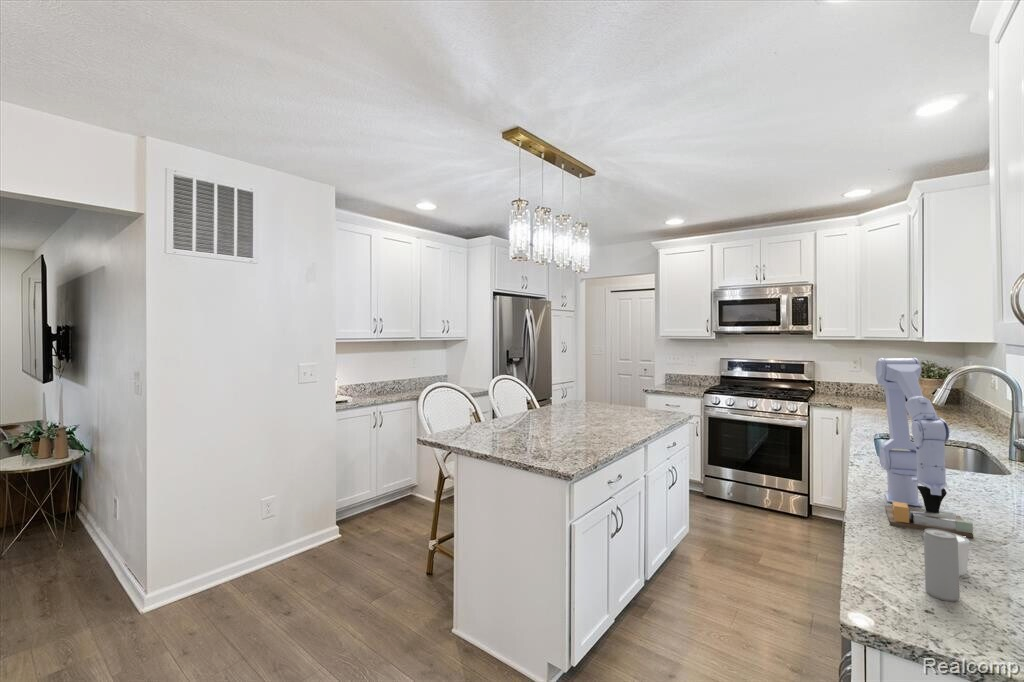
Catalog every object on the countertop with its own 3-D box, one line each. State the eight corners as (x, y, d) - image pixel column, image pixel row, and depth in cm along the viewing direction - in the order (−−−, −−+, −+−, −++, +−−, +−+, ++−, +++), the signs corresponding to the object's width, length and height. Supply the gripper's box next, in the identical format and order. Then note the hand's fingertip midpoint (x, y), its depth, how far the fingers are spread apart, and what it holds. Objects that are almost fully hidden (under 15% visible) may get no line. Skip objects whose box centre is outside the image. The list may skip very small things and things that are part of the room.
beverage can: (966, 603, 85) (964, 538, 85) (936, 601, 86) (934, 537, 86) (948, 590, 90) (945, 529, 90) (919, 588, 91) (917, 527, 91)
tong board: (885, 508, 135) (884, 497, 135) (960, 519, 126) (960, 507, 126) (889, 525, 123) (889, 512, 123) (973, 538, 113) (973, 524, 114)
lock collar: (892, 515, 126) (892, 501, 126) (907, 517, 124) (906, 503, 124) (894, 520, 122) (894, 505, 123) (909, 522, 121) (908, 508, 121)
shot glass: (928, 558, 103) (927, 527, 104) (971, 568, 99) (969, 535, 99) (925, 569, 99) (924, 536, 99) (970, 580, 94) (969, 545, 94)
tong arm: (909, 518, 124) (908, 510, 124) (952, 520, 122) (951, 512, 122) (912, 520, 123) (912, 512, 123) (956, 522, 121) (956, 514, 121)
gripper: (907, 456, 132) (909, 503, 132) (915, 468, 120) (916, 520, 120) (941, 459, 128) (942, 508, 128) (951, 472, 116) (953, 526, 116)
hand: (932, 514), depth 124 cm, fingers closed, pressing on tong arm
